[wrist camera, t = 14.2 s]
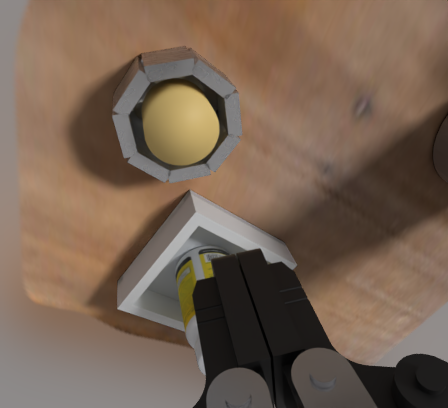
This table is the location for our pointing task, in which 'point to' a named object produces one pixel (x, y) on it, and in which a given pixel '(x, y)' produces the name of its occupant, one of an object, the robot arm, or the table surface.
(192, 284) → the supplement bottle
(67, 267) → the table surface
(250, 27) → the table surface
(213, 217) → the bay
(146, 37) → the table surface
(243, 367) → the robot arm
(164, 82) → the yellow rounded lump
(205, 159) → the socket
